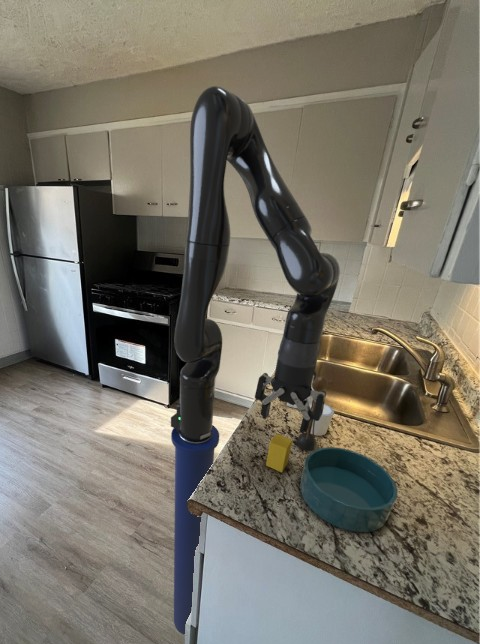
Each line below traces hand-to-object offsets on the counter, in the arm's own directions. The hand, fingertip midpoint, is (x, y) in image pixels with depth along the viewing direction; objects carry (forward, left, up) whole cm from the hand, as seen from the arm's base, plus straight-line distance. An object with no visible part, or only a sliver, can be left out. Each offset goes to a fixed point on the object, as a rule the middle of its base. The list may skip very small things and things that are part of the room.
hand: (283, 424), depth 70 cm
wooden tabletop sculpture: (+4, +12, -12) cm, 17 cm away
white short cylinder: (+4, +20, -12) cm, 24 cm away
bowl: (+15, -1, -12) cm, 19 cm away
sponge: (0, 0, -12) cm, 12 cm away
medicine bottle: (-4, +31, -12) cm, 33 cm away
